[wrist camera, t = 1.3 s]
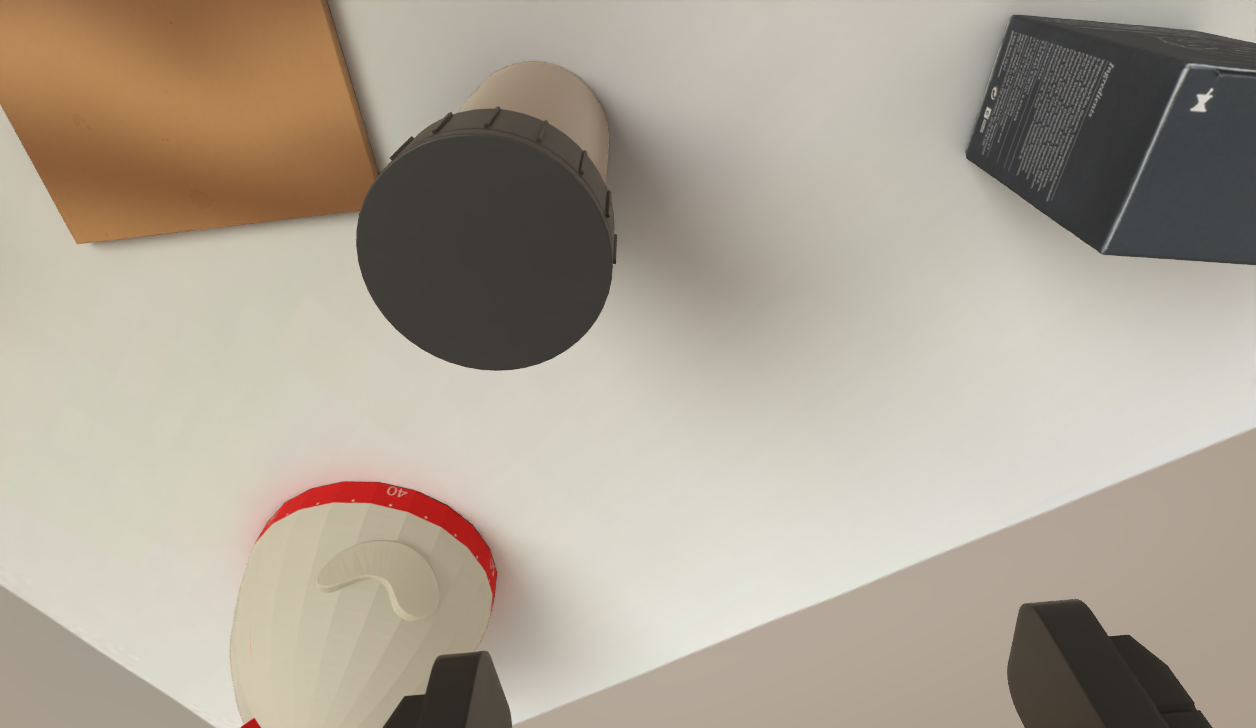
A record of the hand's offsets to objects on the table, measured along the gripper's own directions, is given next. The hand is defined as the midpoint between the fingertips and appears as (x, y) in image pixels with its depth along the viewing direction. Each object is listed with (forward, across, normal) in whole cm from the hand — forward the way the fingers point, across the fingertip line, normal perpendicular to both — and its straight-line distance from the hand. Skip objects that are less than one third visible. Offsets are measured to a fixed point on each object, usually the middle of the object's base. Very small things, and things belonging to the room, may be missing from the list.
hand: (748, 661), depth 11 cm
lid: (+11, +5, -3) cm, 13 cm away
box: (+24, -17, -1) cm, 29 cm away
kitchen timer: (+24, +20, +21) cm, 37 cm away
